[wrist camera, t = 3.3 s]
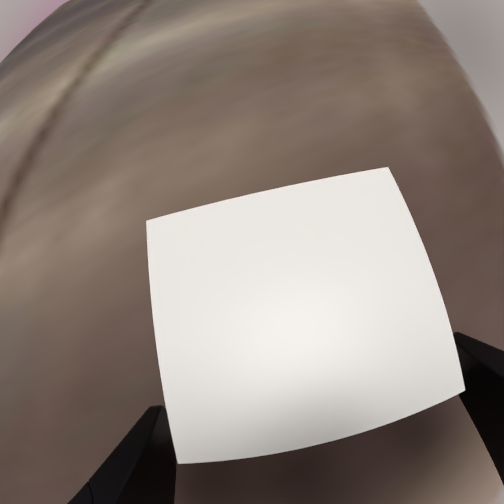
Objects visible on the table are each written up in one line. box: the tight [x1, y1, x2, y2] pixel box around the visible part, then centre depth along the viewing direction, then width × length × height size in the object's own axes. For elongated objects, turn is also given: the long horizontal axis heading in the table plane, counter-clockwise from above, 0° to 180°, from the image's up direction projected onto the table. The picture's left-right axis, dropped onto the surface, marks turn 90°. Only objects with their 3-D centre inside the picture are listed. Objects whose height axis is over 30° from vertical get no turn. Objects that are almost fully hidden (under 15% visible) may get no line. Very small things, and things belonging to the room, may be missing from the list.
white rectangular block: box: [146, 167, 465, 464], centre depth 12 cm, size 6×7×11 cm
